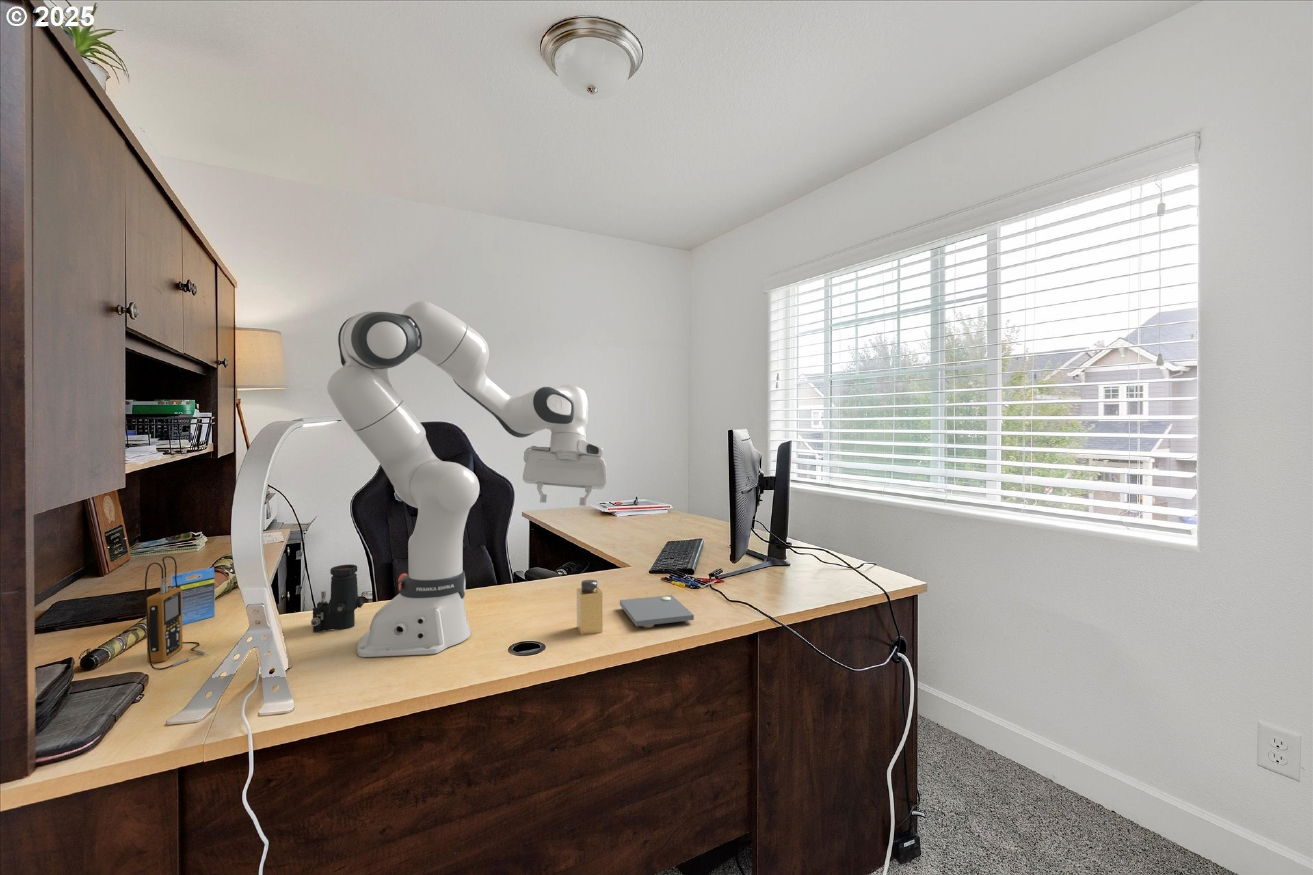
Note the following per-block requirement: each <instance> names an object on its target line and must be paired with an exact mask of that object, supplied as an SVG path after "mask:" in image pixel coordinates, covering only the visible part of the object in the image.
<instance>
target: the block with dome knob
mask: <svg viewBox="0 0 1313 875" xmlns="http://www.w3.org/2000/svg"><path fill="white" fill-rule="evenodd" d="M580 586H581V587H578V588H576V628H577V631H578V632H579V635H590V634H592V635H593V634H600V633H603V632H604V631H603V626H604V624H603V592H602V590H601V588H599V586H598V580H596V579H584V580H582V581H581V584H580Z"/></svg>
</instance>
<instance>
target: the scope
mask: <svg viewBox="0 0 1313 875" xmlns="http://www.w3.org/2000/svg"><path fill="white" fill-rule="evenodd" d="M357 572H358V566H357V565H356V564H342V565H335V566H332V567H331V568H330V575H332V576H331V577H330V578H331V579H330V580H331V581H330V599H329V601H327V591H326V590H322V591H321V592H320V593H321V595H320V598H321V599H320V601H318V603H316V607H313V608H312V618H311V620H310V626H312V633H314V634H315V633H322V631H323V632H324V631H334V630H335V631H336V630H337V631H339V630H341V631H342V630H349V629H351V628H353V627H355V626H356V625H355V623H356V622H355V616H356V615H355V614H356V613H355V610H357V609H359V608H361V609H362V607H363V605H364V599H363V598H362V597H359V592H358V574H357Z"/></svg>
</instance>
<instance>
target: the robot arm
mask: <svg viewBox="0 0 1313 875" xmlns="http://www.w3.org/2000/svg"><path fill="white" fill-rule="evenodd" d="M337 338H338V339H337V340H338V341H337V343H338V349H339V356H340V363H341V366H342V367H340V368H339V369H337V370H335V372H333V374H332V375H331V376H330V377H329V380H328V382H327V385H326V386H327V387H326V388H327V393H328V395H329V396H330V399H331V400H332V403H333V405H334V406H335V408H336V409H337V411H338V413H339V414H340V415H341V417H342V418H343V420H344V421H345V422H346V424H347V425H348V426H349V427H350V428H351V430H352V431H353V432H354V433H355V435H356V436H357V437H358V438H359V440H360V441H361V443H363V445H364V446H365V447H366V448H367V449H368V451H370V453H371V454H372V455H373V456H374V458H375V459H376V460H377V462H378V463H379V464H380V466H381V468H382V469H383V471H384V473H385V475H386V476H387V478H388V479H389V481H390V483H391V485H392V486H393V490H394V491H395V493H396V495H397V496H398V498H400V500H402V501H403V502H404V503H406V504H407V505H408V506H410V507H413V508H415V509H417V518H416V521H415V526H414V528H413V529H414V530H413V532H412V534H411V535H410V537H409V539H408V541H407V542H408V543H407V544H408V546H407V548H408V550H407V552H408V561H407V562H408V573H402V574H400V575H399V576H398V578H397V580H398V581H397V583H398V585H397V586H398V587H397V589H398V594H397V595H396V596H394V597H393V598H392V599H391V600H389V601H388V602H387V603H386V604H384V606H382V607H381V608H380V609H378V610H377V612H375V614H374V615H373V618H371V619H372V620H371V622H370V625H369V631H368V632H367V633H366V634H364V635H363V636H362V637H360V639H359V641H358V642H357V646H356V653H357V655H358V656H359V657H361V658H372V657H373V658H375V657H396V656H398V657H399V656H417V655H433V654H439V653H440V652H442V651H443V650H445V649H447V648H449V647H453V646H455V645H458V644H460V643H463V642H464V641H467V639H468V638H470V636H471V634H472V632H471V631H472V630H471V628H470V626H469V622H468V616H467V611H466V606H465V595H466V574H465V570H463V566H464V565H463V556H464V555H463V551H464V550H463V547H464V542H463V540H464V532H465V527H466V523H467V519H468V516H469V513H470V510H471V508H472V507H473V505H475V503H476V502H477V501H478V500H477V499H478V498H479V495H480V491H481V490H480V482H479V479H478V476H476V474H475V473H474V472H473V471H472V470H470V469H469V468H467V466H466V467H465V466H464V465H462V464H460V463H458V462H454V461H453V462H452V461H443V460H442V459H440V458H438V457H437V456H436V454H435V453H434V451H433V450H432V447H431V446H430V444H429V441H428V439H427V436H426V435H427V433H426V429H425V427H424V426H423V424H422V423H421V422H420V421H419V419H418V418H417V416H416V415H415V414H414V413H413V411H412V410H411V409H410V408H409V406H408V405H407V404H406V402H405V401H404V400H403V399H402V397H401V396H400V395H399V394H398V392H397V391H396V390H395V388H394V387H393V386H392V384H391V382H390V379H389V376H388V375H389V374H388V370H389V369H391V368H395V367H397V366H399V365H401V364H402V363H404V362H405V361H407V360H408V359H409V358H411V356H412V355H413V356H414V354H417V355H419V356H421V357H424V358H426V359H427V360H428V362H431V363H432V364H433V365H435V366H436V367H438V368H439V369H440V370H442V371H444V372H445V373H446V374H447V375H448V376H449V377H451V378H452V380H453V382H454V384H455V385H456V386H457V387H458V388H459V389H461V391H462V392H464V394H466V395H467V396H469V397H470V398H471V399H472V400H473V401H475V402H476V403H477V404H479V405H480V406H481V407H482V408H483V409H485V411H487V412H488V413H490V414H491V415H492V416H493V417H494V418H495V419H496V420H497V421H498V422H499V424H500V426H502V428H503V429H504V430H505V431H506V432H507V433H508V434H509V435H510V436H513V437H515V438H521V439H522V438H526V437H528V436H529V437H530V436H531V435H533V434H535V433H536V432H540V431H543V430H550V432H551V434H550V443H549V447H548V446H536V445H531V446H530V447H526V449H525V450H524V451H523V462H524V463H525V464H524V468H523V473H522V480H523V482H524V483H525V484H531V485H536V491H537V492H538V494H539V496H540V497H539V503H541V504H547V498H548V495H547V494H546V493H544V492H543V490H542V489H543V487H544V486H555V487H567V488H576V489H577V488H578V489H579V488H580V489H584V493H585V495H584V497H579V504H578V505H579V507H580V506H581V507H586V505H587V499H588V497H590V494H591V493H592V490H604V488H605V487H606V486H607V483H608V482H607V481H608V480H607V479H608V478H607V474H608V473H607V463H606V461H605V460H604V458H603V456H604V448H603V447H601V446H598V445H596V444H593V443H591V442H590V441H587V435H586V434H587V433H586V430H587V426H588V422H589V399H588V395H587V393H586V392H585V390H583V389H582V388H581V387H578V386H577V385H574V384H573V385H572V384H564V385H561V386H559V387H556V388H555V387H551V386H543V387H539V388H536V389H534V390H531V391H529V392H528V393H525V394H523V395H521V396H518V395H517V396H516V395H515V396H513V395H509V394H508V393H506V391H504V390H503V389H502V388H501V387H499V385H497V384H496V383H495V382H494V381H493V380H491V379H490V378H489V377H488V376H487V374H486V372H485V371H486V368H487V366H488V363H489V361H490V349H489V345H488V342H487V341H486V340H485V338H484V337H483V336H482V335H481V334H480V333H479V332H478V331H477V330H475V329H474V328H473V327H471V326H469V324H467V323H466V322H464V321H463V320H461V319H460V318H458V317H457V316H455V315H454V314H452V313H451V312H449V311H448V310H446V309H444V308H442V307H440V306H438V305H436V304H434V303H432V302H429V301H428V300H427V301H426V300H420V301H419V300H418V301H416V302H413V303H412V304H410V305H409V306H407V307H406V308H405V309H404V311H403V312H402V313H395V312H388V311H363V312H361V313H357V314H355V315H353V316H351V317H349V318H348V319H346V321H344V323H342V325H341V326H340V328H339V332H338V336H337Z"/></svg>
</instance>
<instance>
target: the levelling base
mask: <svg viewBox="0 0 1313 875" xmlns="http://www.w3.org/2000/svg"><path fill="white" fill-rule="evenodd" d="M619 606H620V607H621V609H622V610H623V611H624V612H625V614H626V615H627V617H629V619H630V621H631V622H632V623H633V624H634V625H635V627H642V628H652V627H655V625H662V624H669V623H670V624H671V623H679V622H687V621H689V622H690V621H694V620H695V615H694V613H692V611H690V610H689V609H688V608H687V607H686V606H685V605H683V603H682V602H680V601H679V600H678V599H677V598H675V597H674V596H673V595H672V594H670V595H669V594H668V595H660V596H649V597H648V596H647V597H639V598H627V599H619Z"/></svg>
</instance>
